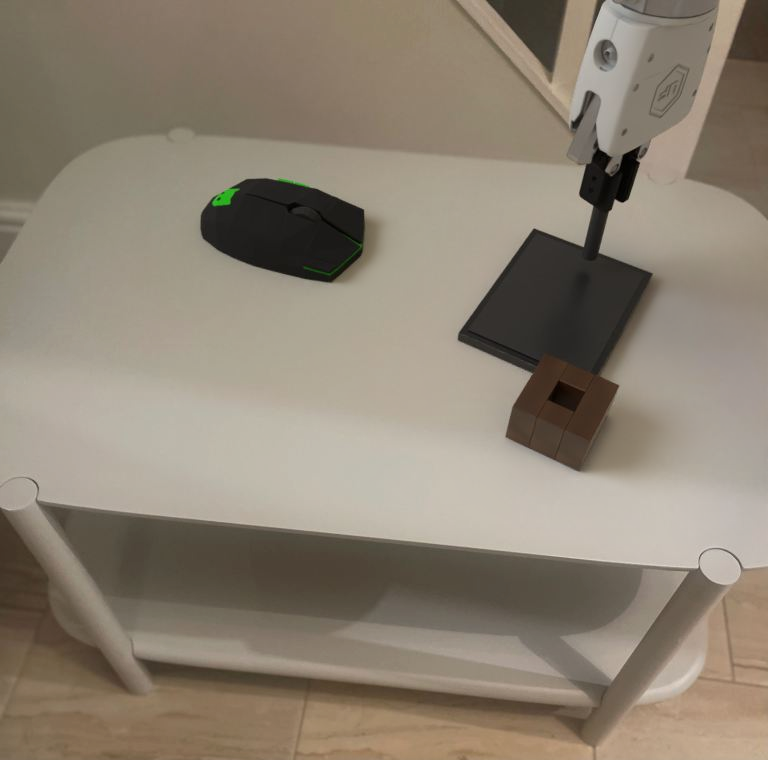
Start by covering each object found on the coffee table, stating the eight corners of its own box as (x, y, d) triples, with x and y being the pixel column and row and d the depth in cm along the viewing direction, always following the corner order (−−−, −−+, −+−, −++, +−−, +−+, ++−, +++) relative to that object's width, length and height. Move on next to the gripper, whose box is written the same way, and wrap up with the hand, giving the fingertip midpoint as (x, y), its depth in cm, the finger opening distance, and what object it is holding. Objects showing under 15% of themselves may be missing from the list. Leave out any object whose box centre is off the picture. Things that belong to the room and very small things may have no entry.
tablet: (650, 280, 74) (653, 272, 73) (587, 397, 65) (589, 389, 64) (532, 234, 77) (533, 226, 76) (457, 339, 69) (458, 332, 68)
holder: (607, 415, 64) (619, 384, 61) (578, 471, 60) (590, 442, 57) (536, 384, 66) (545, 352, 63) (504, 436, 62) (512, 406, 59)
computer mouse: (233, 177, 82) (228, 144, 79) (383, 212, 79) (384, 179, 76) (181, 246, 75) (172, 213, 72) (342, 288, 72) (341, 256, 69)
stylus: (600, 254, 72) (629, 138, 63) (594, 263, 71) (623, 147, 62) (585, 248, 73) (612, 133, 64) (579, 257, 72) (606, 141, 63)
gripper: (635, 37, 48) (574, 262, 62) (780, -35, 54) (695, 185, 69) (544, -10, 52) (506, 213, 66) (691, -71, 58) (627, 144, 72)
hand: (603, 197), depth 67 cm, fingers closed on stylus, 1 cm apart
